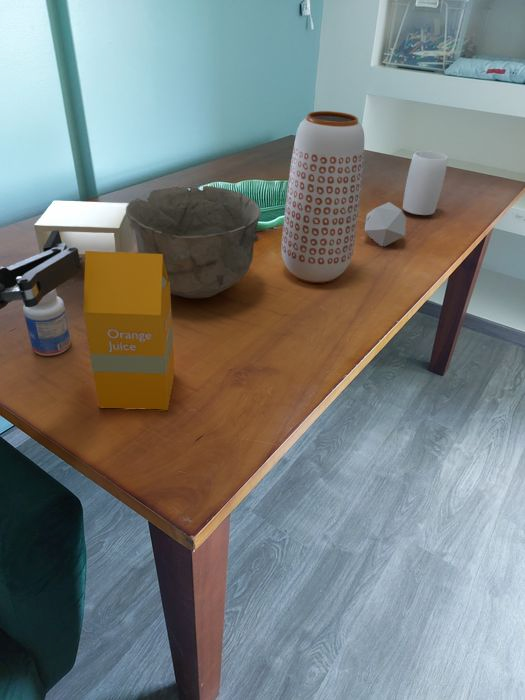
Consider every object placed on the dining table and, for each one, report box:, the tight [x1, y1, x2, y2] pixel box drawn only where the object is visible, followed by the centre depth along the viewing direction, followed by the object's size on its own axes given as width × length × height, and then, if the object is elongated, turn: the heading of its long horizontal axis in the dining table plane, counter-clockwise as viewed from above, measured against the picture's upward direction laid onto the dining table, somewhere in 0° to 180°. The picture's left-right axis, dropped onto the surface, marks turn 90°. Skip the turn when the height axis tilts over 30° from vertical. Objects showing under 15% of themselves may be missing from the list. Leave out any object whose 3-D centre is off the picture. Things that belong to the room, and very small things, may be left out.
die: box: [364, 201, 407, 247], centre depth 114 cm, size 8×9×10 cm
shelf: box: [34, 200, 136, 259], centre depth 98 cm, size 14×12×10 cm
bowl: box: [126, 185, 262, 299], centre depth 91 cm, size 22×22×15 cm
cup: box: [402, 150, 449, 216], centre depth 128 cm, size 8×8×14 cm
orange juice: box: [82, 251, 176, 411], centre depth 65 cm, size 8×9×20 cm
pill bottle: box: [22, 288, 72, 357], centre depth 76 cm, size 6×5×10 cm
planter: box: [280, 110, 365, 284], centre depth 94 cm, size 13×13×28 cm
